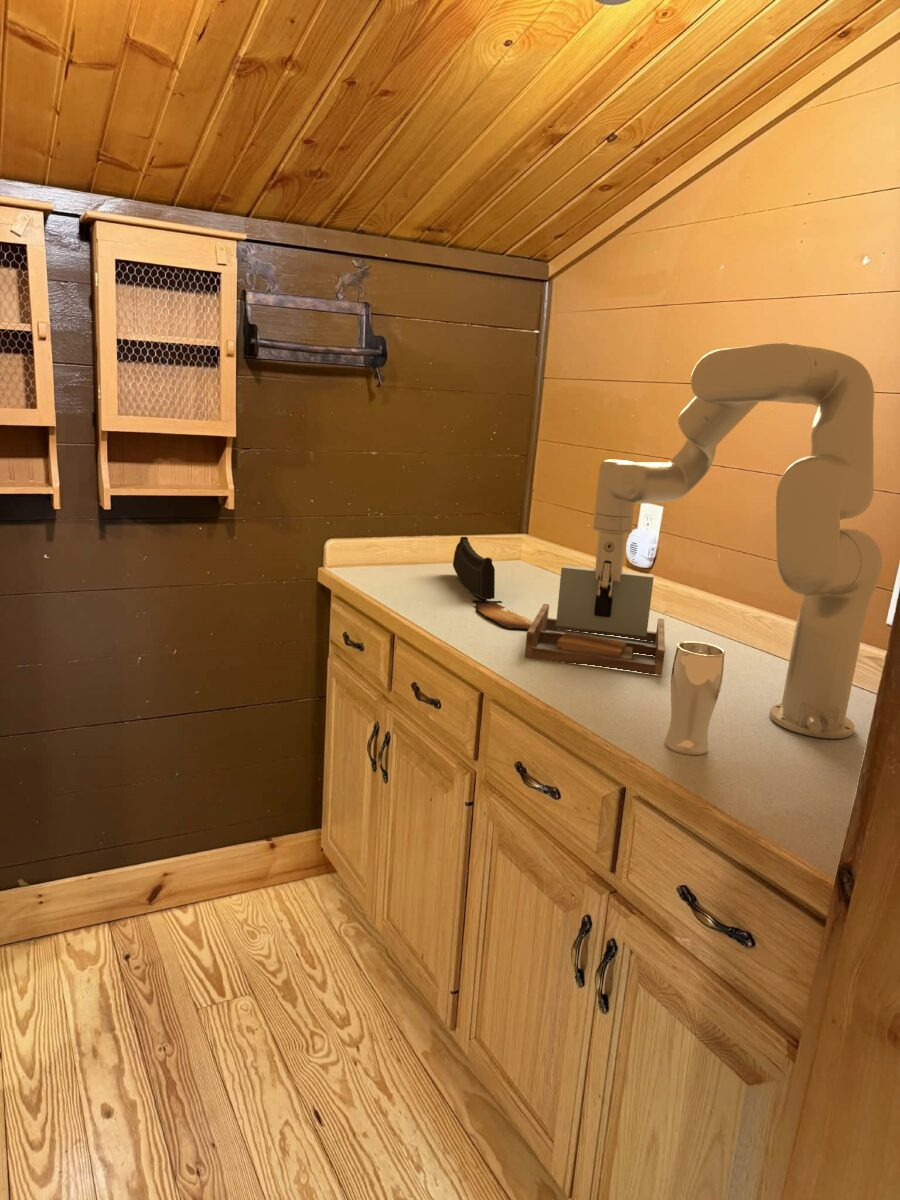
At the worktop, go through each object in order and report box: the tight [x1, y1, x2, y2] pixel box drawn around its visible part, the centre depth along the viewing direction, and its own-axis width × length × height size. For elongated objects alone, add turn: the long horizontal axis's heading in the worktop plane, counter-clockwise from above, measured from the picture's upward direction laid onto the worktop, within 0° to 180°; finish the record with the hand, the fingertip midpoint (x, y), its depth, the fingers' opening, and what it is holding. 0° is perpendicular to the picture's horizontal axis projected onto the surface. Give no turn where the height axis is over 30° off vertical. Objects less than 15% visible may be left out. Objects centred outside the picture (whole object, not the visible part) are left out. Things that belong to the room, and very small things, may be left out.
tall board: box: [556, 564, 655, 636], centre depth 168 cm, size 3×18×12 cm, turn 76°
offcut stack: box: [556, 631, 634, 660], centre depth 161 cm, size 8×14×4 cm, turn 73°
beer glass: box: [664, 641, 726, 756], centre depth 120 cm, size 7×7×15 cm
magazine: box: [452, 536, 496, 600], centre depth 209 cm, size 17×3×30 cm
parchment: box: [471, 599, 533, 631], centre depth 187 cm, size 25×10×1 cm, turn 19°
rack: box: [524, 603, 666, 676], centre depth 166 cm, size 24×25×5 cm
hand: (602, 613), depth 169 cm, fingers closed on tall board, 3 cm apart
